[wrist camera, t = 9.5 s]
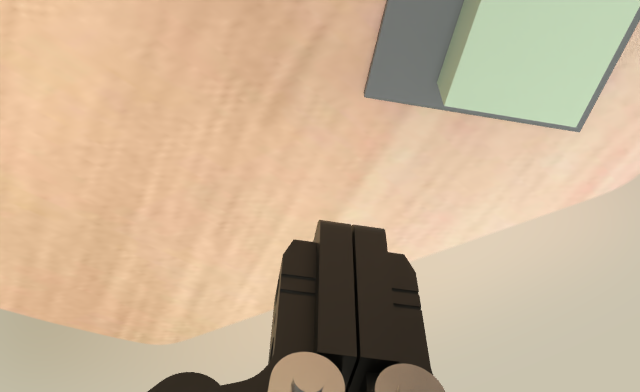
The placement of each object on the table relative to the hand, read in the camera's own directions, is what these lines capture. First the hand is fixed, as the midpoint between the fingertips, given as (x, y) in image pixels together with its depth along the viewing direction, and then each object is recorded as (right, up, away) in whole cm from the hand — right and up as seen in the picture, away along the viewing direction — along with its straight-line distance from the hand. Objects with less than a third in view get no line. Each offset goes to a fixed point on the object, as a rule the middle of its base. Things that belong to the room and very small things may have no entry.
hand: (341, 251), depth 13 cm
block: (+9, +13, +21) cm, 26 cm away
